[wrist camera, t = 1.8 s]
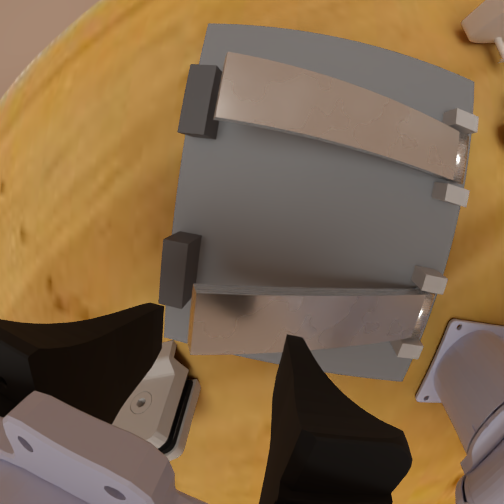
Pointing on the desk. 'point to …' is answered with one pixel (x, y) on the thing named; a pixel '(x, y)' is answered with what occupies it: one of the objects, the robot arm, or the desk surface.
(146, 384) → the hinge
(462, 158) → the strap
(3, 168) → the desk surface
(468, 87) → the base plate
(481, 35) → the cable organizer
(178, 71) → the desk surface
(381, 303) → the strip
